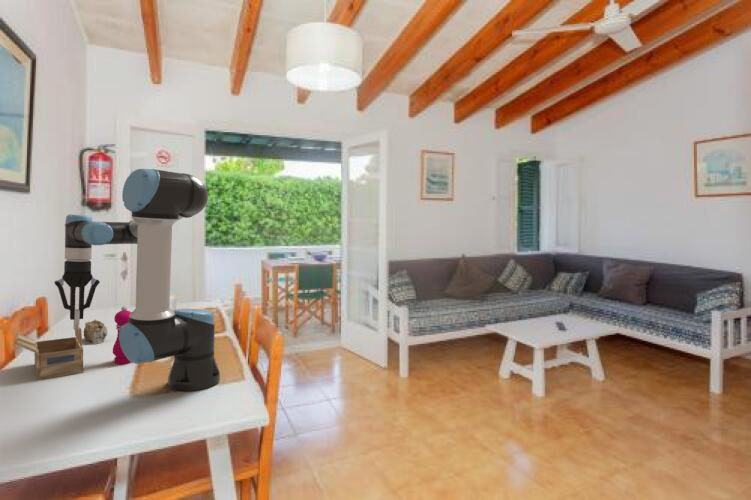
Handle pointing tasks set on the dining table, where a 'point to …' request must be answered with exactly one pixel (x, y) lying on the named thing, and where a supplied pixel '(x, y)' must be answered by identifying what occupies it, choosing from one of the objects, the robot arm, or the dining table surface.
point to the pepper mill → (121, 320)
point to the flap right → (79, 335)
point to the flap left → (26, 343)
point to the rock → (95, 331)
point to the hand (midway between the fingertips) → (76, 328)
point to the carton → (58, 358)
